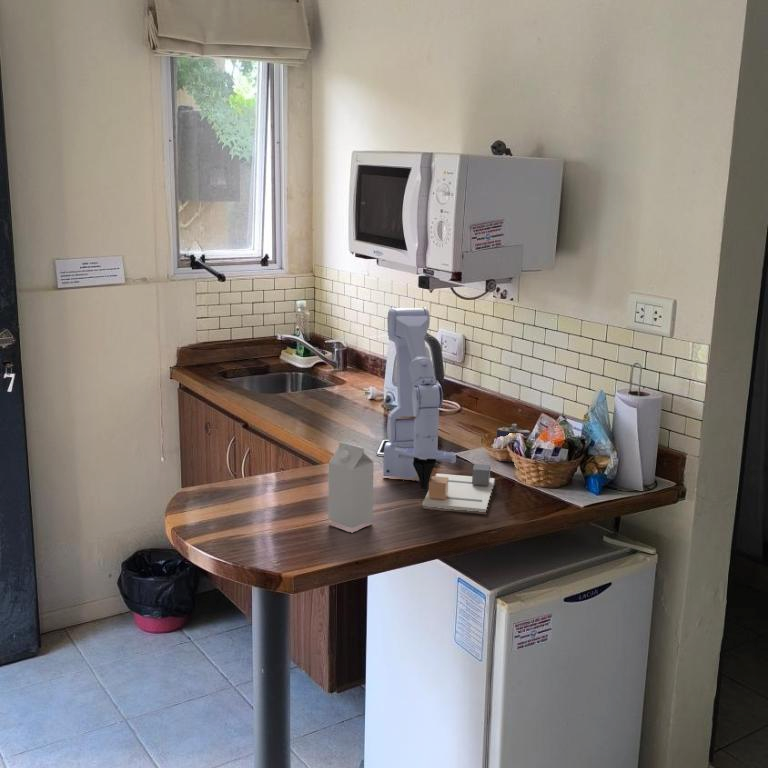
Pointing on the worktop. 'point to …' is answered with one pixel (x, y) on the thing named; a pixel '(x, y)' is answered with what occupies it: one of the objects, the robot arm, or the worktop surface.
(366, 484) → the milk carton
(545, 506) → the worktop surface
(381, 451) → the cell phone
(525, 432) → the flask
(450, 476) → the slider panel
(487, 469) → the charcoal slider
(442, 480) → the terracotta slider
